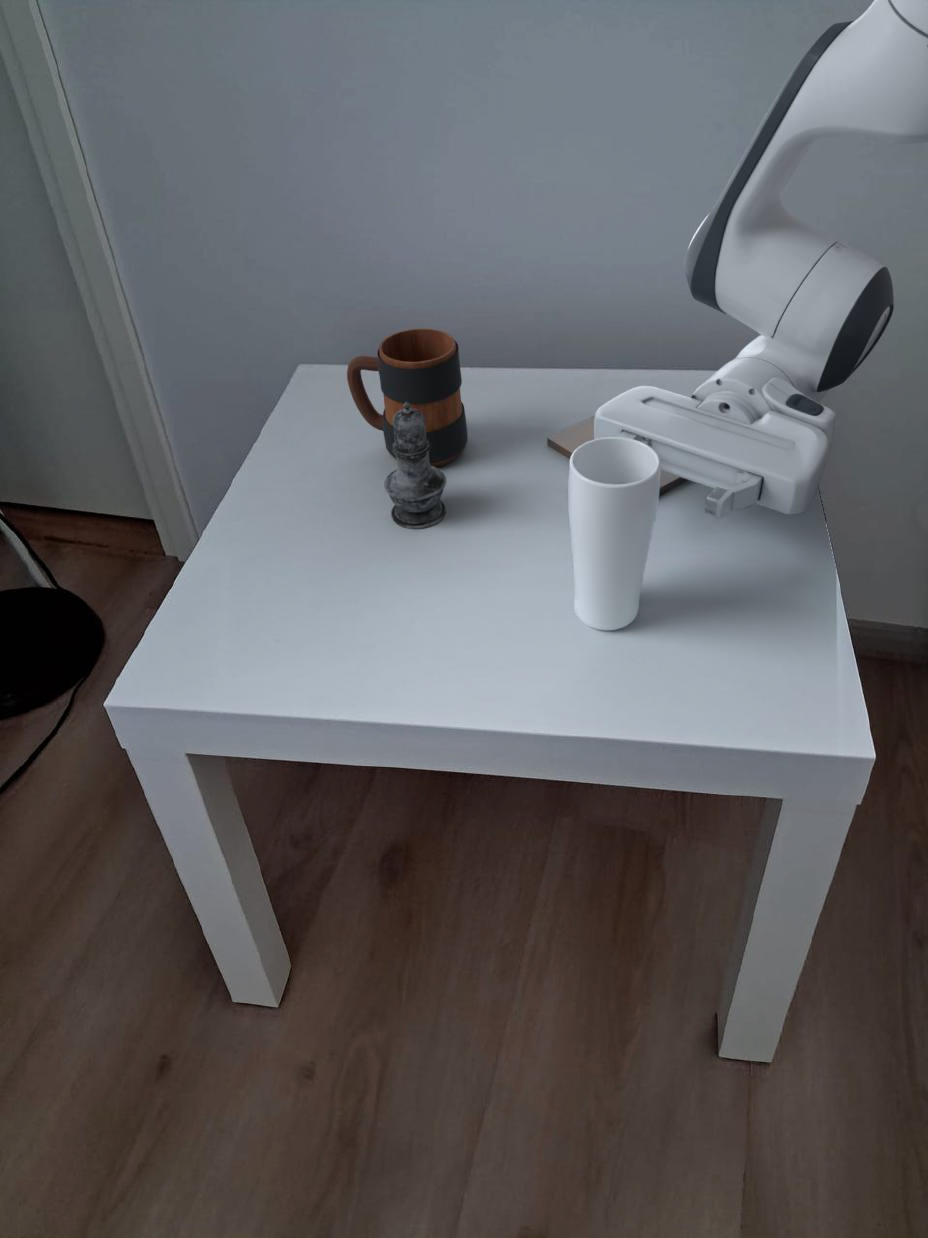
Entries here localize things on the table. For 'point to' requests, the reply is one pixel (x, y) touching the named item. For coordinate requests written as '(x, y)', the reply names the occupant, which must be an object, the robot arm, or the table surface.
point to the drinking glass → (611, 527)
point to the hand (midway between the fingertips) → (661, 490)
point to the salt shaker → (414, 474)
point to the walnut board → (584, 433)
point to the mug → (416, 389)
